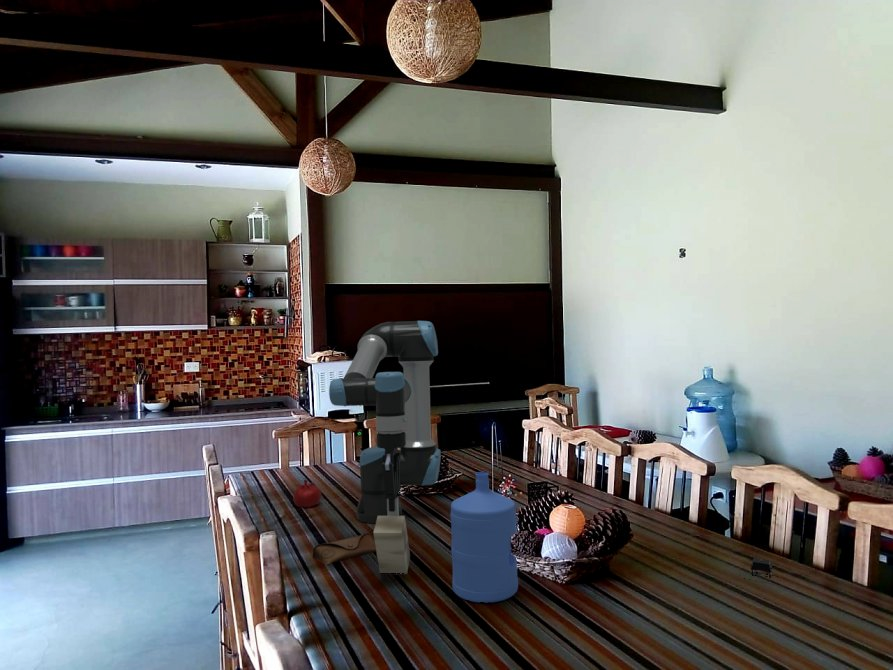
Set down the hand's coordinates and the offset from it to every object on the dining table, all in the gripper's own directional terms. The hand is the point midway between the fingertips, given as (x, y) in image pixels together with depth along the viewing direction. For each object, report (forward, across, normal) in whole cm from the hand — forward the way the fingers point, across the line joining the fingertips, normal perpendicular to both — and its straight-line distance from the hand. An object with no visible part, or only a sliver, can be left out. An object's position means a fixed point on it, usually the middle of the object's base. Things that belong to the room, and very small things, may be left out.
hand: (393, 522), depth 167 cm
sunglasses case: (+13, +13, +16) cm, 24 cm away
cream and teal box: (+11, +1, 0) cm, 11 cm away
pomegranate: (+11, +60, +43) cm, 74 cm away
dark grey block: (+13, 0, -91) cm, 92 cm away
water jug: (+13, -10, -24) cm, 29 cm away
